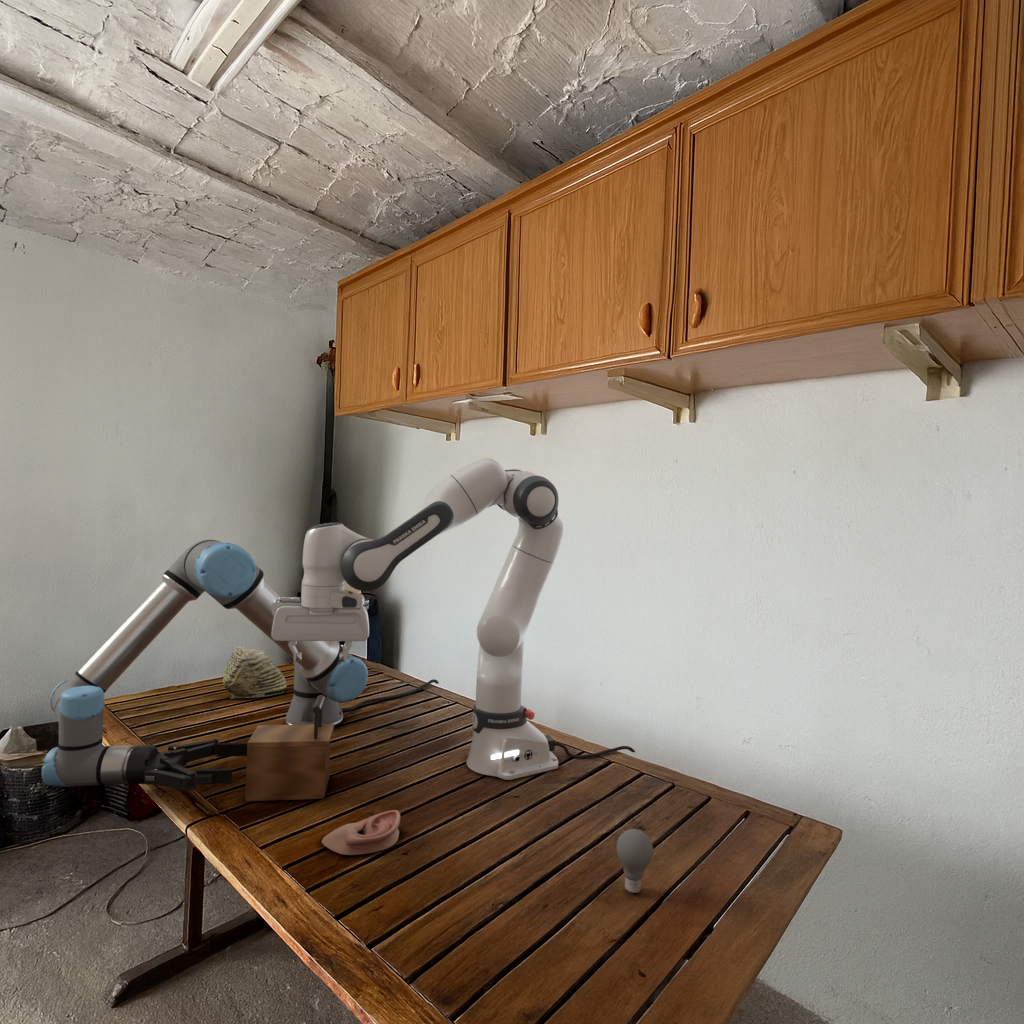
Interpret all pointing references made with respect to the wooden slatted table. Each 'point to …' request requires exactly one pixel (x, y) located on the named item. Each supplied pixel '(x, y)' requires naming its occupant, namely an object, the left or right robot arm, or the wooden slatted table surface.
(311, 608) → the right robot arm
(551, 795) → the wooden slatted table surface
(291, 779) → the chest
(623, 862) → the light bulb
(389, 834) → the anatomical model
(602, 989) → the wooden slatted table surface
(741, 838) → the wooden slatted table surface
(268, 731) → the lid
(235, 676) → the fossil
